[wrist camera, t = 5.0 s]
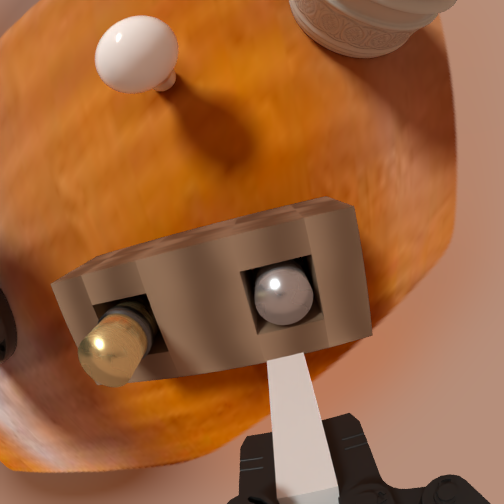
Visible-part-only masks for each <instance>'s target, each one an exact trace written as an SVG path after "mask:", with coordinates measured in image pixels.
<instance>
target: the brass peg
mask: <svg viewBox="0 0 504 504" xmlns="http://www.w3.org/2000/svg"><path fill="white" fill-rule="evenodd" d="M158 330H159V326H158V323H157V321H156V318H155V316H154V313H153V310H152V308H151V305H150V302H149V300H148V297H147V294H146V293H145V294H140V295H136V296H132V297H127V298H123V299H122V300H121V301H120V302H119V303H118V304H117V305H116V306H114V307H112V308H110V309H109V310H108V311H107V312H106V313H105V314H104V315H103V316H102V317H101V318H100V319H99V321H98V324H97V326H96V327H95V328H94V329H93V330H92V331H91V332H90V333H89V334H88V335H87V336H86V337H85V338H84V339H83V340H82V341H81V343H80V344H79V347H78V357H79V361H80V363H81V365H82V367H83V369H84V370H85V372H86V373H87V374H88V375H89V376H90V377H91V378H92V379H94V380H95V381H97V382H98V383H100V384H102V385H105V386H109V387H120V386H123V385H125V384H126V383H128V381H129V380H130V378H131V377H132V375H133V373H134V371H135V370H136V368H137V366H138V364H139V363H140V361H141V360H142V359H144V358H145V357H146V356H147V354H148V353H149V351H150V349H151V347H152V345H153V342H154V337H155V335H156V334H157V332H158Z"/></svg>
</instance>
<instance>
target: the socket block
mask: <svg viewBox="0 0 504 504" xmlns="http://www.w3.org/2000/svg"><path fill="white" fill-rule="evenodd" d="M298 257H302V260H303V264H304V267H305V269H306V271H307V274H308V281H309V284H310V286H311V288H312V291H313V303H312V306H311V308H310V310H309V312H308V313H307V314H306V315H305V316H304V317H303V318H302V319H301V320H299V321H297V322H295V323H292V324H288V325H277V324H273V323H271V322H268V321H267V320H265V319H264V318H263V317H262V316H261V315H260V314H259V312H258V310H257V308H256V305H255V292H254V289H253V282H252V280H253V273H252V270H251V269H253V268H257V267H261V266H265V265H270V264H274V263H278V262H282V261H286V260H290V259H294V258H298ZM51 287H52V289H53V292H54V294H55V297H56V300H57V302H58V305H59V307H60V309H61V312H62V314H63V317H64V319H65V321H66V324H67V326H68V328H69V330H70V332H71V335H72V337H73V339H74V341H75V343H76V345H77V347H79V344H80V343H81V341H82V340H83V339H84V338H85V337H86V336H87V335H88V334H89V333H90V332H91V331H92V330H93V329H94V328H95V327H96V326H97V324H98V321H99V319H100V318H101V317H102V316H103V315H104V314H105V313H106V312H107V311H108V310H109V309H110V308H112V307H114V306H116V305H117V304H118V303H119V302H120V301H121V300H122V299H123V298H127V297H132V296H136V295H140V294H145V293H146V294H147V297H148V300H149V302H150V305H151V308H152V310H153V313H154V316H155V318H156V321H157V323H158V326H159V330H158V332H157V334H156V335H155V337H154V342H153V345H152V347H151V349H150V351H149V353H148V354H147V356H146V357H145V358H144V359H142V360H141V361H140V363H139V364H138V366H137V368H136V370H135V371H134V373H133V375H132V377H131V378H130V380H129V381H128V383H131V382H141V381H151V380H160V379H168V378H176V377H183V376H190V375H197V374H204V373H210V372H216V371H222V370H228V369H234V368H239V367H245V366H250V365H255V364H260V363H265V362H267V361H268V360H273V359H277V358H282V357H286V356H290V355H294V354H298V353H304V354H305V353H309V352H313V351H317V350H321V349H325V348H329V347H333V346H337V345H340V344H344V343H348V342H351V341H355V340H358V339H362V338H365V337H369V336H372V325H371V315H370V306H369V298H368V290H367V282H366V275H365V268H364V261H363V255H362V248H361V242H360V236H359V231H358V225H357V219H356V214H355V209H354V206H352V205H349V204H346V203H343V202H341V201H338V200H335V199H332V198H329V197H326V196H325V197H321V198H317V199H312V200H308V201H304V202H299V203H295V204H291V205H287V206H283V207H278V208H274V209H270V210H266V211H262V212H258V213H254V214H250V215H246V216H242V217H238V218H234V219H230V220H226V221H222V222H219V223H215V224H211V225H207V226H203V227H199V228H196V229H192V230H188V231H185V232H181V233H177V234H173V235H170V236H166V237H163V238H159V239H155V240H152V241H148V242H145V243H141V244H138V245H134V246H131V247H127V248H124V249H120V250H117V251H113V252H110V253H106V254H103V255H100V256H97V257H95V258H93V259H92V260H90V261H88V262H86V263H85V264H83V265H81V266H80V267H78V268H76V269H75V270H73V271H71V272H69V273H68V274H66V275H65V276H63V277H61V278H60V279H58V280H56V281H55V282H53V283H51ZM94 381H95V380H94ZM95 382H96V384H97V385H102V384H100V383H98V382H97V381H95Z"/></svg>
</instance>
